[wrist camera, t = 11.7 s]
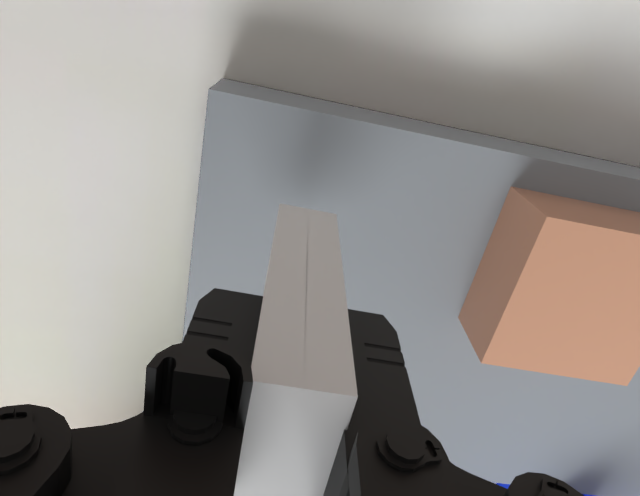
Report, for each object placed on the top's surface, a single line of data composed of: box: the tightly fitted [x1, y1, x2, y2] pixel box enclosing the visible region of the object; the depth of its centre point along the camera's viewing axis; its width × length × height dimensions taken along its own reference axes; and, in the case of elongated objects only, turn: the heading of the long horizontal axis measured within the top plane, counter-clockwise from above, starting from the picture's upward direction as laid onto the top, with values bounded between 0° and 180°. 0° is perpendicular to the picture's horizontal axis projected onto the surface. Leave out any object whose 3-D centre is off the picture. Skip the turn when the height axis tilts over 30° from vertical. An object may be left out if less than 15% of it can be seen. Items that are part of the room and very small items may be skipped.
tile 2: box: [458, 186, 640, 386], centre depth 15 cm, size 5×5×2 cm
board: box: [182, 79, 640, 496], centre depth 19 cm, size 22×14×2 cm, turn 78°
